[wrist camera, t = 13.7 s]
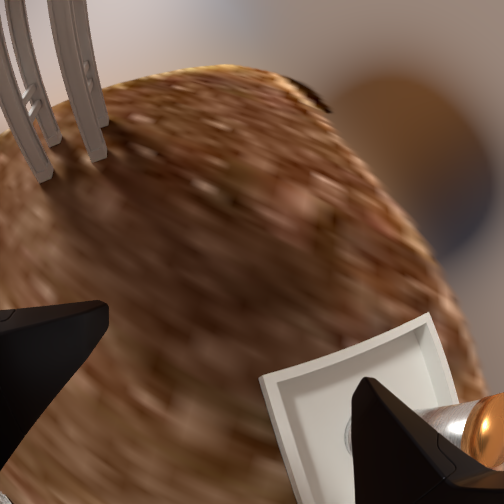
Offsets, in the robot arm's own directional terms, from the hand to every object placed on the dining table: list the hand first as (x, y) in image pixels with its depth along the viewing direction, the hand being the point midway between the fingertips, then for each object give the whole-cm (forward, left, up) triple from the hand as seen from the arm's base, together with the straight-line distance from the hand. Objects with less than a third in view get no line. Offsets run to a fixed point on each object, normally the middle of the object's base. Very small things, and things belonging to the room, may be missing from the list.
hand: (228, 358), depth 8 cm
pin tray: (+10, -8, -14) cm, 19 cm away
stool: (-17, +35, -14) cm, 41 cm away
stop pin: (+10, -8, -13) cm, 18 cm away
